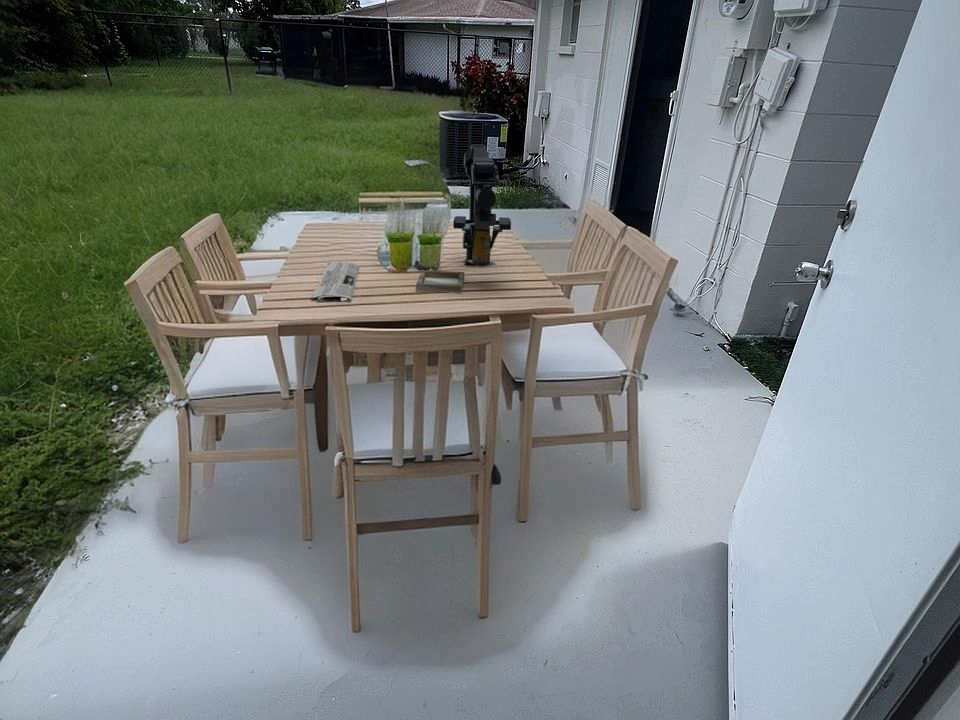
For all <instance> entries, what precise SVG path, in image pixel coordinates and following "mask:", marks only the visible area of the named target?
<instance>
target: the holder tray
mask: <svg viewBox="0 0 960 720" xmlns="http://www.w3.org/2000/svg"><path fill="white" fill-rule="evenodd" d="M417 279H418V280H417V282H416V284H415V291H416V293H435V292H450V293H449V294H460V293H461V292H463V288H462V287H463V286H464V281H465V271H454V270H453V271H449V270H448V271H445V270H427V269H426V270H425V269H423V270H421V271H420V274H419V276H418V278H417ZM461 294H462V293H461Z"/></svg>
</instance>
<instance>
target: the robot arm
mask: <svg viewBox="0 0 960 720" xmlns="http://www.w3.org/2000/svg"><path fill="white" fill-rule="evenodd" d="M463 157H464V158H463V168H465V174H466V176H467V177H468V178H469V216H468V217H469V218H468V219H467V216H461V215H460V216H459V215H455V216H454V218H453V221H452V222H453V227H452V228H453V229H461V231H462V232H463V233H462V249H463V250H465V249H466V250H465V254H466V255H465V260H464V261H465V262H464V265H465V266H475V265H474V264H472V263H470V262H468V261H467V260H472V253H473V235H474V228H475V229H477V230H479V229H485V230H489V229H490V230H491V227H492V233H491V248H490V249H491V250H492V249H493V247H494V244H495V241H496V239H497V236H498V235H499V233H503V231H510V230H512V220H511V218H510V217H498V219H497V213H492V207H494V205H495V203H496V201H497V196H496V193H495V191H494V190H493V186H497V185H498V183H499V180H500V179H499V178H500V177H499V168H498V166H497V165H498V164H495V161H494V160H493V159H492V158H489V157H490V156H489V152H488V151H487V146H486V145H484V144H482V143H481V144H475V143H474V144H471V145H470V148H468V149H467V150H466V151H465V152H464V156H463Z"/></svg>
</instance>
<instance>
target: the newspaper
mask: <svg viewBox="0 0 960 720" xmlns="http://www.w3.org/2000/svg"><path fill="white" fill-rule="evenodd" d="M359 269H360V265H359V264H357V263H355V262H351V261H333V260H331V259H328V261H327V263H326V265H325V267H324V270H323V272H322V276H321V278H320V280H319V282H318V283H317V285H316V287H315V288H314V291H313V292H312V294H311V295H310V298H312V299H313V298H314V299H315V298H317V302H318V303H324V302H325V301H326V299H325V297H326V298H331V297H339V298H340V297H345V298H347V301H346V302H348V301H349V302H351V301H352V299H353V294H354V290H355V288H356V281H357V279H356V278H357V277H358V274H359ZM323 301H324V302H323Z"/></svg>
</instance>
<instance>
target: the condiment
mask: <svg viewBox="0 0 960 720" xmlns="http://www.w3.org/2000/svg"><path fill="white" fill-rule="evenodd" d="M491 238H492V235H491V228H490V229H489V230H485V229H479V230H477V229H475V228H474V235H473V253H472V260H467V261H468V262H470V263H472V264H474V265H473V266H475V267H478V268H486V267H487V268H488V267H493V266H498V264H497V263H495V262H493V261H492V260H491V250H492V249H490V248H491Z"/></svg>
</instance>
